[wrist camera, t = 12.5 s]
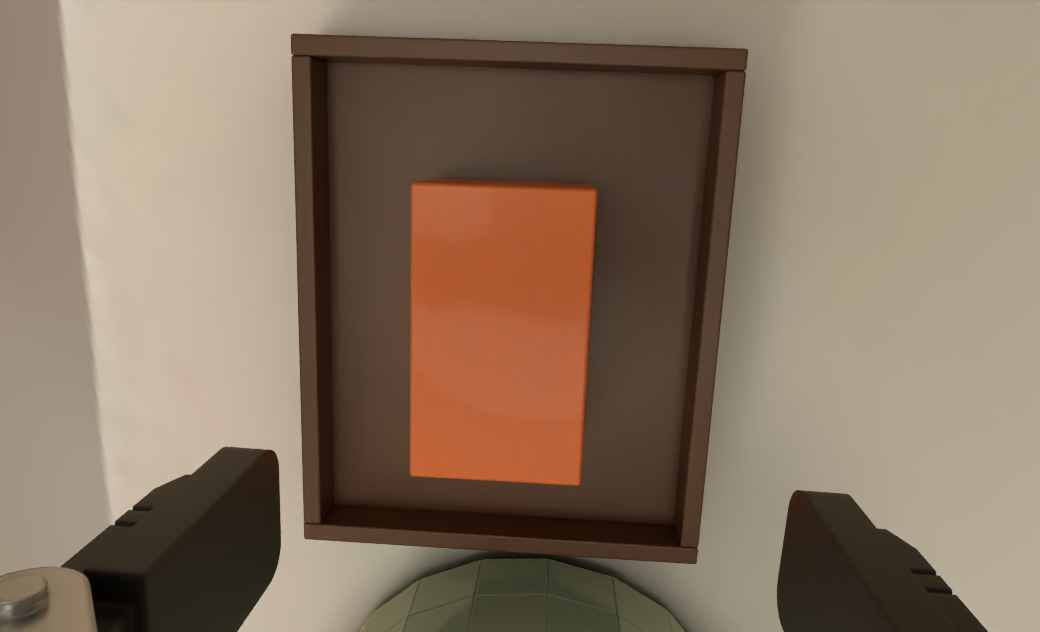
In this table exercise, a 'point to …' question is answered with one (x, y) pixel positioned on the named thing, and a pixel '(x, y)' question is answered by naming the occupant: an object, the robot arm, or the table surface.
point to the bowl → (520, 601)
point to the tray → (615, 283)
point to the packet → (500, 328)
